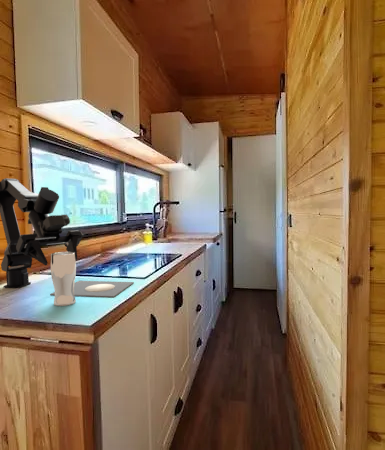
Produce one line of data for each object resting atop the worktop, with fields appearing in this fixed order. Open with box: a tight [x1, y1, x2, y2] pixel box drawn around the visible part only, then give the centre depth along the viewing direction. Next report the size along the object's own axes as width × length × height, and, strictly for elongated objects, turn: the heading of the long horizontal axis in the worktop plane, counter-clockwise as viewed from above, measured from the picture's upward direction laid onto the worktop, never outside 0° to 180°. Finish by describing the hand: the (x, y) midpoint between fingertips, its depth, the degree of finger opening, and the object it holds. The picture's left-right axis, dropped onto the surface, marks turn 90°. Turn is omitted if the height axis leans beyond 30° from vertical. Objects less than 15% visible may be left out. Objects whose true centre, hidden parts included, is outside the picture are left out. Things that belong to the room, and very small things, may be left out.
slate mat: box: [49, 280, 134, 298], centre depth 106 cm, size 22×18×1 cm
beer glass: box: [50, 251, 77, 307], centre depth 90 cm, size 7×7×15 cm
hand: (62, 261), depth 90 cm, fingers open, 9 cm apart
